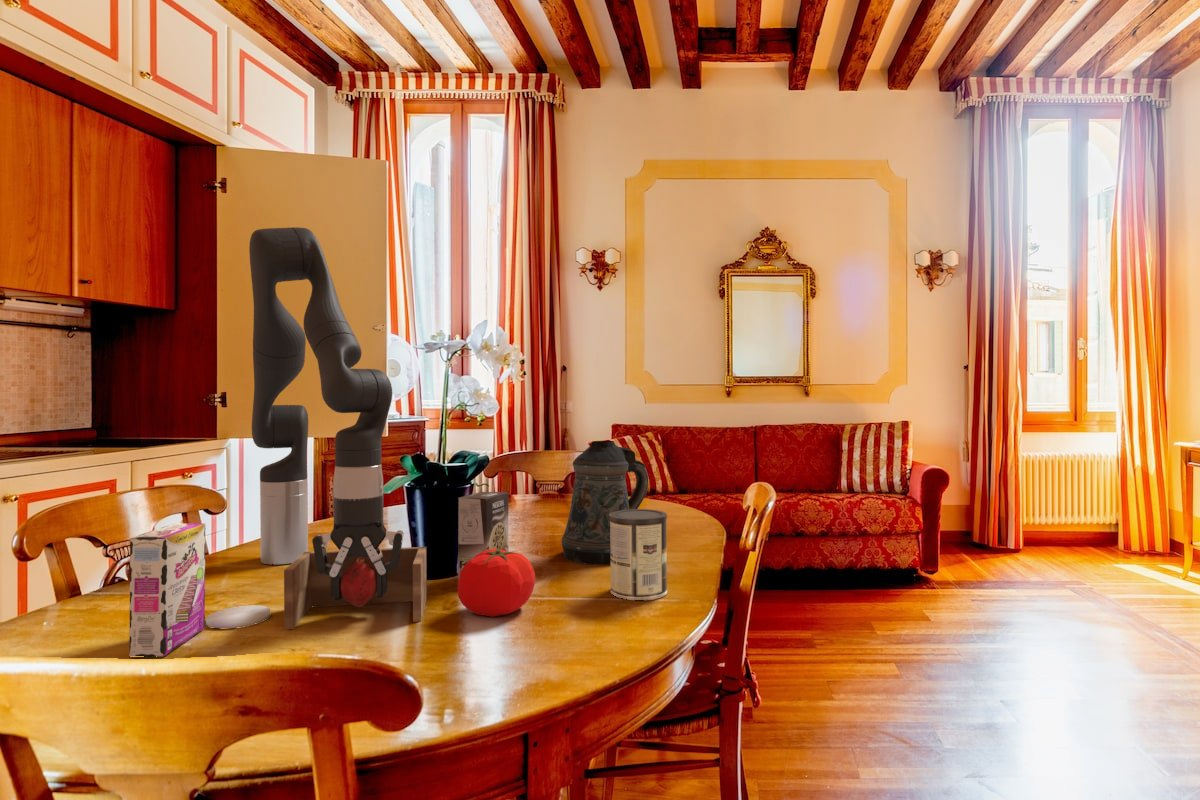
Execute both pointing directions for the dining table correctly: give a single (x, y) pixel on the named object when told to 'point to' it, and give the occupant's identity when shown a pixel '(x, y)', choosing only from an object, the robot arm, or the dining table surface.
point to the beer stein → (600, 499)
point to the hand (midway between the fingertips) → (359, 597)
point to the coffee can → (638, 554)
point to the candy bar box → (166, 588)
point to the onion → (359, 583)
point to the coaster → (238, 616)
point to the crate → (315, 588)
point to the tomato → (496, 582)
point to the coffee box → (481, 525)
